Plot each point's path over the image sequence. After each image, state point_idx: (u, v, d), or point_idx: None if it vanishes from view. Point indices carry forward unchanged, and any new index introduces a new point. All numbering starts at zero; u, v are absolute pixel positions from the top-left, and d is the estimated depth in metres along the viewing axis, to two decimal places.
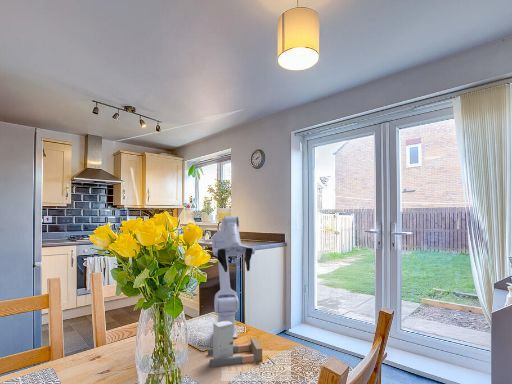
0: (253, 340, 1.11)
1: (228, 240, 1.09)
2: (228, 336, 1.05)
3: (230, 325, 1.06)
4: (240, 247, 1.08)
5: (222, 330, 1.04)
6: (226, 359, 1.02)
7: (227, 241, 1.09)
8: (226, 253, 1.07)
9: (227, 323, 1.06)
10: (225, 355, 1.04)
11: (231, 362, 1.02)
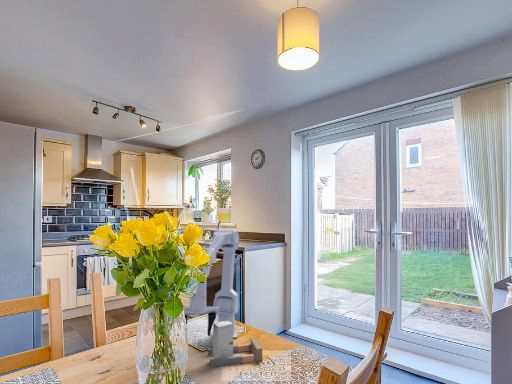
0: (253, 340, 1.11)
1: (192, 303, 1.03)
2: (228, 336, 1.05)
3: (230, 325, 1.06)
4: None
5: (222, 330, 1.04)
6: (226, 359, 1.02)
7: (191, 303, 1.03)
8: (189, 314, 1.04)
9: (227, 323, 1.06)
10: (225, 355, 1.04)
11: (231, 362, 1.02)
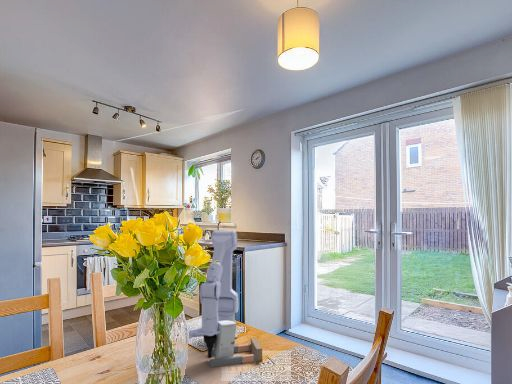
0: (253, 340, 1.11)
1: (204, 324, 1.03)
2: (230, 335, 1.05)
3: (233, 325, 1.07)
4: None
5: (225, 329, 1.05)
6: (226, 359, 1.02)
7: (203, 324, 1.04)
8: (201, 335, 1.05)
9: (231, 323, 1.07)
10: (226, 354, 1.04)
11: (231, 362, 1.02)
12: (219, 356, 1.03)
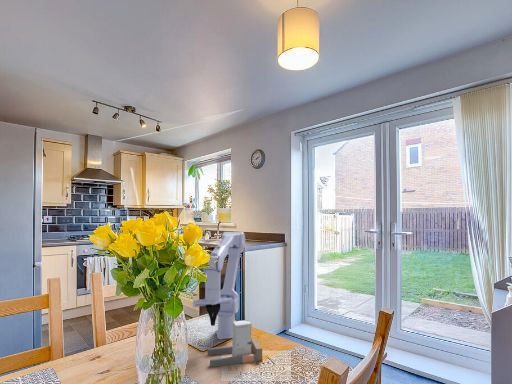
0: (253, 340, 1.11)
1: (207, 294, 1.11)
2: (245, 335, 1.05)
3: (248, 325, 1.06)
4: None
5: (240, 329, 1.05)
6: (226, 359, 1.02)
7: (206, 294, 1.11)
8: None
9: (246, 323, 1.07)
10: (243, 354, 1.04)
11: (231, 362, 1.02)
12: None
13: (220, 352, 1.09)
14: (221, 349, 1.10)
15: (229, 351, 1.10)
